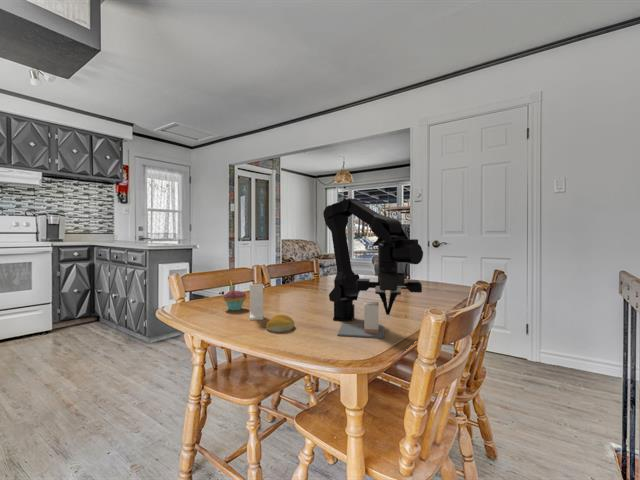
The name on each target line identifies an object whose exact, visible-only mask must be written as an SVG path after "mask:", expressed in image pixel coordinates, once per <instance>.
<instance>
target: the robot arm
mask: <svg viewBox="0 0 640 480" xmlns="http://www.w3.org/2000/svg"><path fill="white" fill-rule="evenodd" d="M322 215H323V219H324V222H325V223H324V224H325V226H326V227H327V228H328V229H329V231H330V233H331V240H332V245H333V246H332V247H333V252H334V259H335V265H336V275H335V278H334V280H333V283H334V286H333V288H332V289H331V291H330V293H329V294H328V297H329V302H333V317H332V320H333V321H348V322H349V321H350V322H351V321H353V319H354V318H355V314H356V313H355V311H356V309H355V308H356V307H355V303H354V301H358V297H359V294H360V292H361V291H362V292H363V291H364V292H367V291H368V290H369V289H375V290H374V291H375V292H374V294H376V295H378V296H379V298H380V299H381V302H382V305H383V307H384V308H383V309H384V311H385V315H386V316H390V313H391V310H392V308H393V305H394V302H395V300H396V298H397V297H398V295H399V296H401V295H402V290H408V291H409V292H410V293H422V292H423V286H422V285H423V284H422V283H421V282H420V281H419V279H418V280H417V279H406V280H405V277H406V276H405V274H406V273H405V272H399V264H409V265H419V264H420V263H421V262H422V261H423V257H424V251H423V248H422V246H421V245H420V244H419V239H415V238H414V239H413V238H411V239H410V238H409V237H408V236H407V234H406V232H405V230H404V228H403V227H402V223H401V221H400V220H398V219H396V218H393V217H390V216H385V215H382V214H381V213H380V214H379V213H378V212H376V211H375V210H373V209H372V208H370V207H369V206H367V205H365V204H364V203H362V202H360V201H359V200H358V199H357V198H352V197H351V198H349V197H346V198H344V199H343V200H341V201H338V202H335V203H332V204H330V205H327V206H325V209H324V210H323V214H322ZM351 216H355V217H356V218H358V219H359V220H360V221H362V222H363V223H365V224H366V225H368V226H369V228H370V231H371V232H372V233H373V234H374V236H376V237H377V239H376V240H375V241H374V242H373V243H372V246H374V247H376V246H377V247H378V250H377V251H378V253H377V254H378V257H377V261H378V262H377V264H378V265H377V268H378V269H377V281H370V278H360V275H359V273H355V272H354V271H353V269H352V263H351V257H350V250H349V245H348V239H347V238H348V237H347V231H346V230H347V229H346V228H347V226H348V223H349V217H351ZM405 281H406V282H405ZM386 291H389V296H388V302H387V292H386Z"/></svg>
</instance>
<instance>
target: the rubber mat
mask: <svg viewBox="0 0 640 480" xmlns="http://www.w3.org/2000/svg"><path fill="white" fill-rule="evenodd" d="M384 334H385V332H384V325H378V333H367V332H364V324H357V323H353V324H352V323H341V325H340V327H339V330H338V332H337V336H339V337H354V338H368V339H369V338H370V339H371V338H372V339H373V338H374V339H384V337H385V335H384Z"/></svg>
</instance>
